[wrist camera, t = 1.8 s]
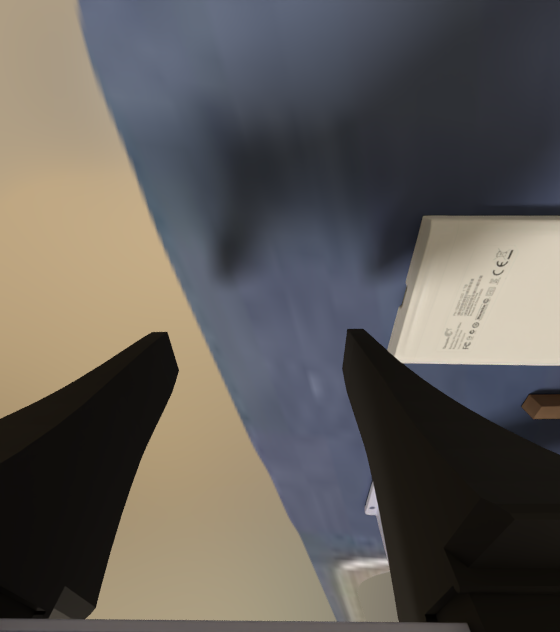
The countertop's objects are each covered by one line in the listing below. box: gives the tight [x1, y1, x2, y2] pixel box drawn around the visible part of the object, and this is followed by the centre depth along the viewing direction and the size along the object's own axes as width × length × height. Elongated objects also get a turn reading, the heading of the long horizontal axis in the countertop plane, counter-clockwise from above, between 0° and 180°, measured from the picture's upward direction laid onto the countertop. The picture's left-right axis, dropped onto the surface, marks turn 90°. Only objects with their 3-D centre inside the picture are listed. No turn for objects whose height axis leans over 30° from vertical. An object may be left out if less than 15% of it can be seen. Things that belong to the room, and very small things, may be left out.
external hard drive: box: [387, 215, 560, 366], centre depth 14 cm, size 2×8×12 cm
